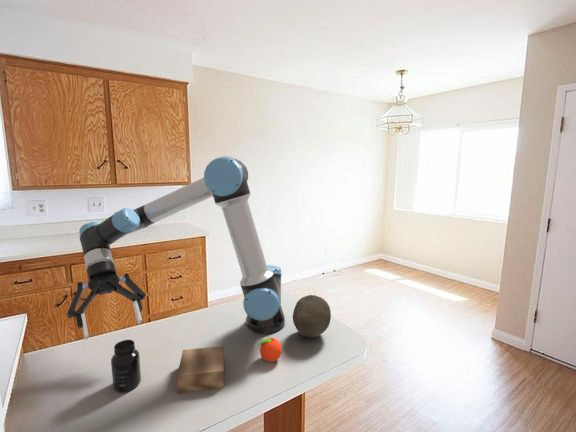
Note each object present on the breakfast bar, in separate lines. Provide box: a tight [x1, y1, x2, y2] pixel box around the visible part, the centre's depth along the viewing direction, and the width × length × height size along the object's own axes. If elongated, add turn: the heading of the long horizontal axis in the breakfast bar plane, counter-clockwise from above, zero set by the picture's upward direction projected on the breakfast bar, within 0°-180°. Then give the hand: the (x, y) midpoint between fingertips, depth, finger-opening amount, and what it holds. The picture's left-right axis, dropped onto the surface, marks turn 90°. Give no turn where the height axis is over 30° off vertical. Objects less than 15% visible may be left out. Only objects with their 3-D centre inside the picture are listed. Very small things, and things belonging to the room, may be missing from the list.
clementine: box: [257, 337, 283, 363], centre depth 95 cm, size 8×7×7 cm
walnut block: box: [176, 345, 225, 394], centre depth 87 cm, size 12×12×5 cm
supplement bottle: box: [110, 339, 142, 393], centre depth 82 cm, size 7×7×12 cm
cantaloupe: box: [292, 294, 332, 338], centre depth 108 cm, size 14×14×15 cm
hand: (114, 329), depth 87 cm, fingers open, 13 cm apart
